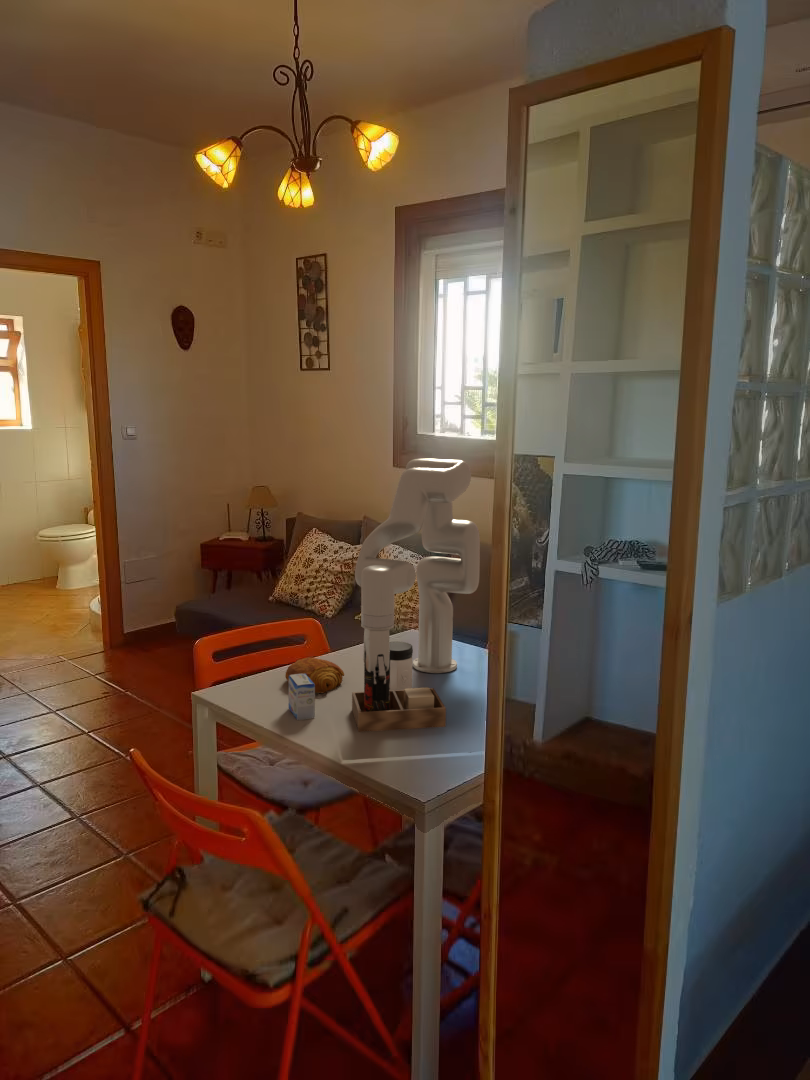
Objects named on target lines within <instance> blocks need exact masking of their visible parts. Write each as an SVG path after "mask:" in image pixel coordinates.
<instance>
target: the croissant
mask: <svg viewBox="0 0 810 1080" xmlns="http://www.w3.org/2000/svg"><path fill="white" fill-rule="evenodd" d="M294 674H306V675H307V676H308V677H309V678H310V680H311V681H312V682H313V683H314V684H315V694H325V693H328V692H330V691H332V690H335V689H336V688H337V687H339V686H341V684H342V682H343V677H344V676H345V673H344V671H343V670H342V668H341V667H340V666H339V665H338V664H336V663H334V662H332V661H330V660H326V659H322V658H317V657H309V656H308V657H305V658H302V659H298V660H296V661H295V662H294V663H291V664H290V665H288V667H287V669H286V671H285V675H284V676H285V677H284V678H285V680H287V682H288V683H289V675H294Z"/></svg>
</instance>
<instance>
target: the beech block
mask: <svg viewBox="0 0 810 1080" xmlns="http://www.w3.org/2000/svg"><path fill="white" fill-rule="evenodd" d="M429 688H430V687H429V686H428V687H412V688H407V689H404V710H405V709H423V708H434V695H433V694H432V692H431V690H430V689H429Z"/></svg>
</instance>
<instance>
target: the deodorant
mask: <svg viewBox="0 0 810 1080" xmlns="http://www.w3.org/2000/svg"><path fill="white" fill-rule="evenodd" d="M363 651H364V650H363ZM363 663H364V664H363V666H364V667H363V668H364V671H363V675H364V676H363V679H364V680H363V681H364V682H363V684H364V685H363V690H364V691H363V692H364V712H369V711H387V710H390V654H389V670H388V671H386V700H379V701H373V700H372V683H374V682H373V671H371V672H368V671H367V669H366V652H365V651H364V661H363ZM385 667H387V666H385ZM375 670H378V667H377V668H375ZM377 675H378V673H376V677H377Z"/></svg>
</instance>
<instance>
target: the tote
mask: <svg viewBox="0 0 810 1080" xmlns="http://www.w3.org/2000/svg"><path fill="white" fill-rule="evenodd" d="M429 689H430V690H431V692H432V694H433V695H434V708H423V709H405V710H404V690H390V710H387V711H369V712H364V691H353V692H351V710H352V715H353V717H354V721H355V724H356V727H357V731H358V733H361V732H362V733H363V732H365V733H366V732H378V731H379V732H380V731H395V730H396V731H397V730H411V729H413V730H415V729H430V728H445V727H446V724H447V723H446V721H447V720H446V719H447V718H446V716H447V715H446V714H447V708H446V705H445V704H444V703H443V701H442V699H441V698H440V696H439V695H438V693H437V691H436V690H435V688H434V687H433V688H432V687H429Z"/></svg>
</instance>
